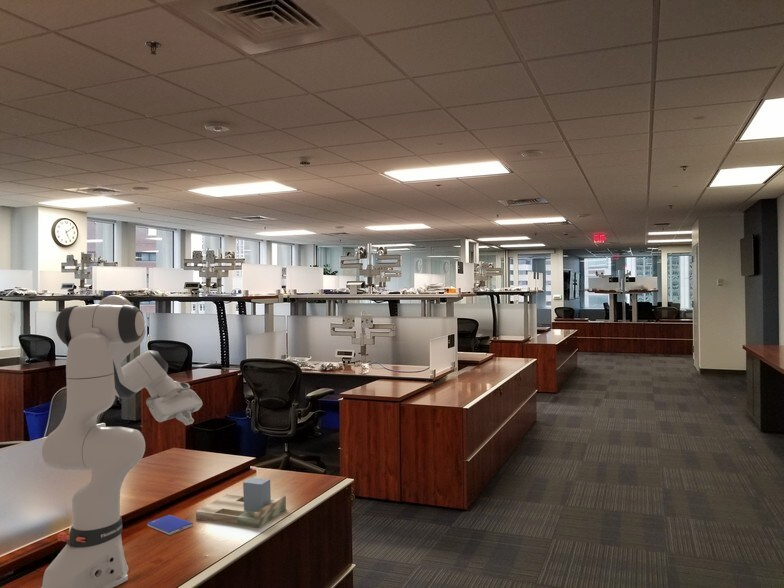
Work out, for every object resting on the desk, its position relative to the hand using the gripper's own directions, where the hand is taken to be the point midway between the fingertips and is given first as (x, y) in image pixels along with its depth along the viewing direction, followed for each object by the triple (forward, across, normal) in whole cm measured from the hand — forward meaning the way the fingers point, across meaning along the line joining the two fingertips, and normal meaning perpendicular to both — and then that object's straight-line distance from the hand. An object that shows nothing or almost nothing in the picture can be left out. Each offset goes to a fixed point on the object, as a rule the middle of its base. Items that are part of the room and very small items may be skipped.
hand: (190, 423), depth 195 cm
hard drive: (+23, -13, +20) cm, 33 cm away
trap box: (+34, +2, +8) cm, 35 cm away
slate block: (+36, +2, +2) cm, 36 cm away
